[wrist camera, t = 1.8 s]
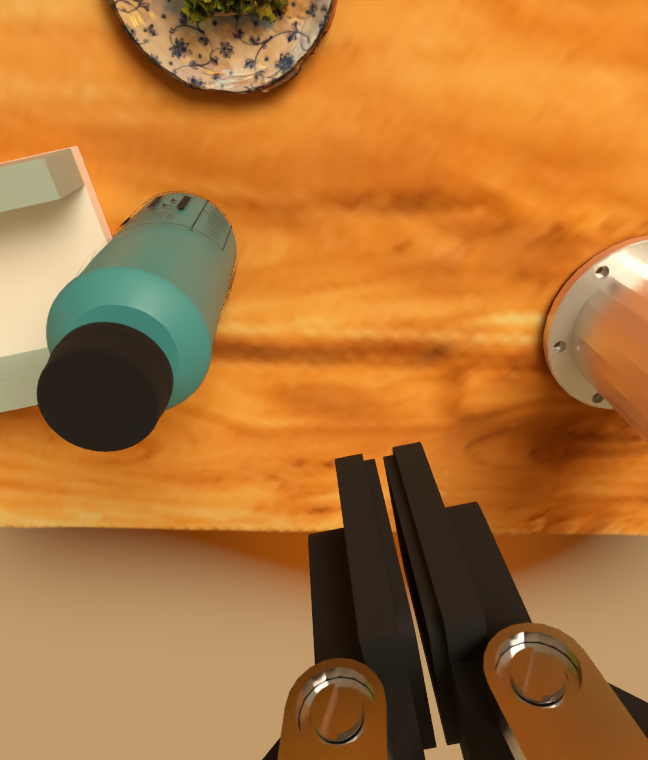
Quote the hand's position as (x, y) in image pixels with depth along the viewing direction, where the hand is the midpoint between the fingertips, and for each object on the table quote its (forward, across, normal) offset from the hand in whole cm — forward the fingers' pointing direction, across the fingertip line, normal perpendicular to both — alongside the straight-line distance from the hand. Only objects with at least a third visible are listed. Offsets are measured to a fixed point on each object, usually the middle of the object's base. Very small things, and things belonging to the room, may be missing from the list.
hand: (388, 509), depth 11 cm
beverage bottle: (+28, +8, 0) cm, 29 cm away
